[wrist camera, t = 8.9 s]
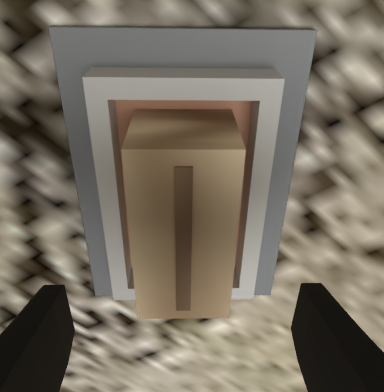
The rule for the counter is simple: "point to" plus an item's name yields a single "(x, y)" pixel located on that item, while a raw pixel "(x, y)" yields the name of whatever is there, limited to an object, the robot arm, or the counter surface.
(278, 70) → the board
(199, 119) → the maple block
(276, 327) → the counter surface
